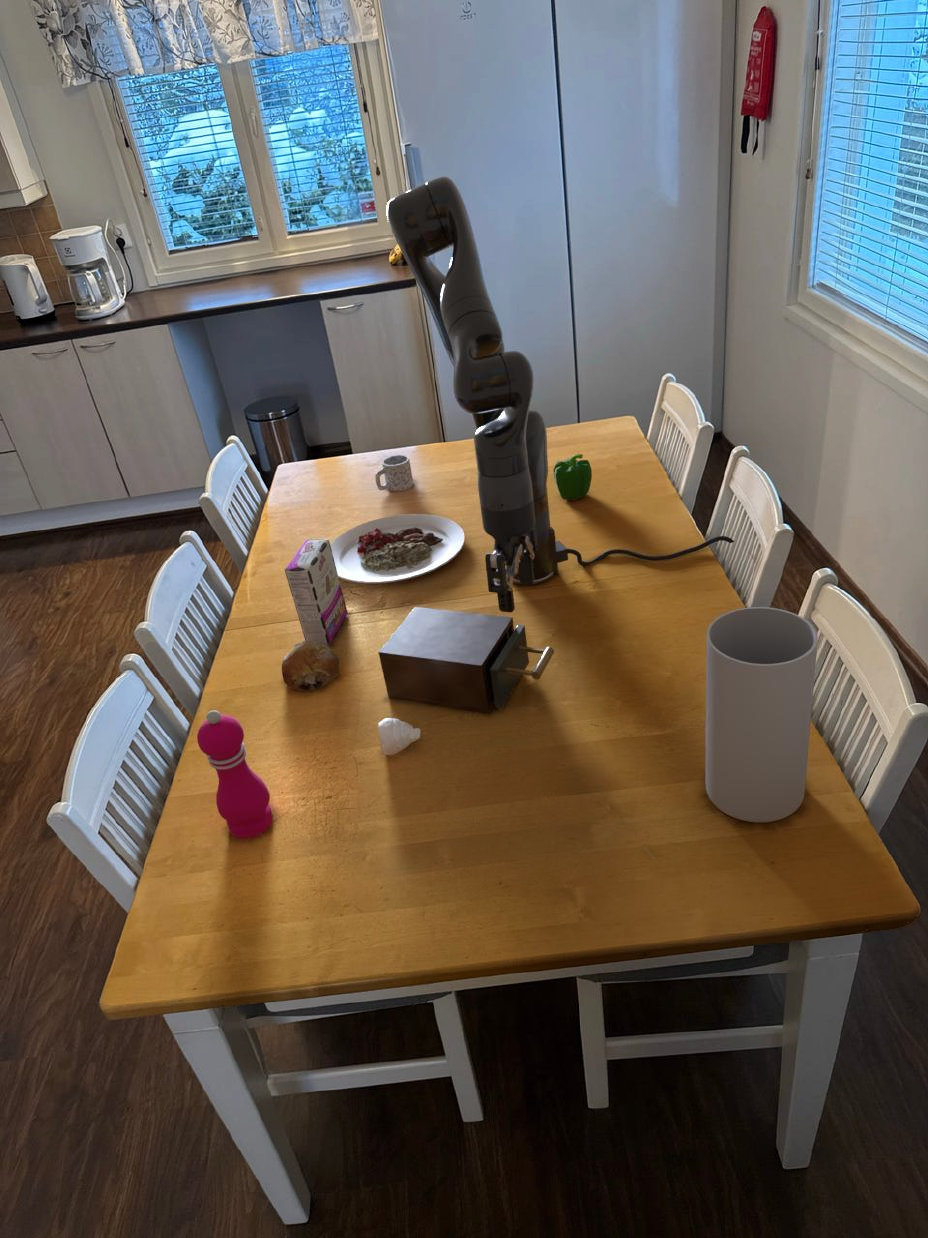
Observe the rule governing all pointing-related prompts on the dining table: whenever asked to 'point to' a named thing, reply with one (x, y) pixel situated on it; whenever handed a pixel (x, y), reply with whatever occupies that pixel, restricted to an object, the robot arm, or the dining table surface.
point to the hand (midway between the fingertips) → (517, 596)
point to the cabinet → (443, 658)
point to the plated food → (396, 548)
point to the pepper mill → (235, 777)
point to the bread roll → (310, 666)
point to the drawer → (512, 665)
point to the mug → (395, 473)
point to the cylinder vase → (758, 711)
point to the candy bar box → (316, 591)
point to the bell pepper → (573, 477)
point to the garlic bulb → (396, 735)
